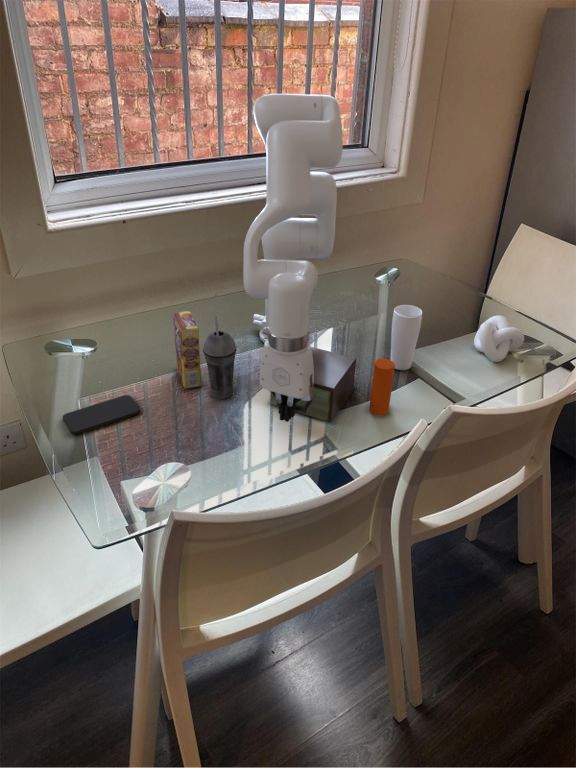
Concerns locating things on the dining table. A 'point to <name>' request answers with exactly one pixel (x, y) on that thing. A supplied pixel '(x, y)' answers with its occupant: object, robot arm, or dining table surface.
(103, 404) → the phone
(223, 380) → the beverage cup
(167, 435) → the dining table surface
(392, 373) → the roller
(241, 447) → the dining table surface
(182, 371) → the candy box
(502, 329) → the white knot sculpture
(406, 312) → the drinking glass
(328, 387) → the cabinet
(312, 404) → the drawer
